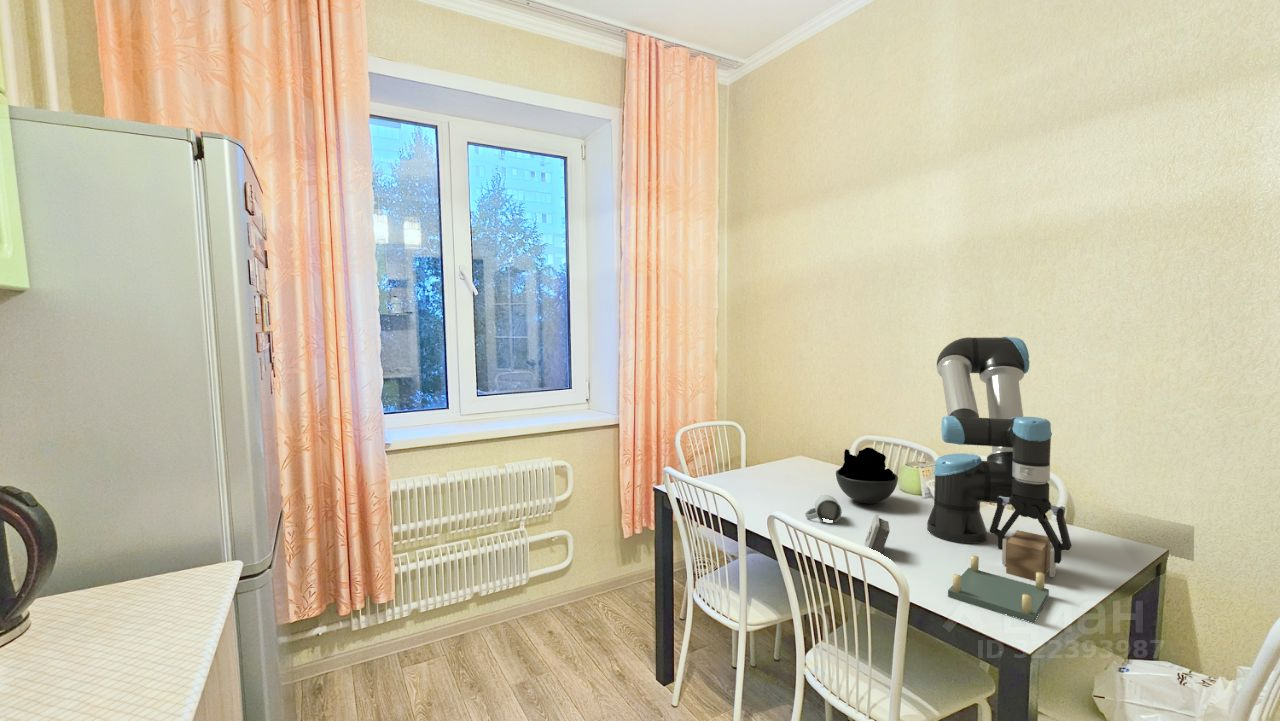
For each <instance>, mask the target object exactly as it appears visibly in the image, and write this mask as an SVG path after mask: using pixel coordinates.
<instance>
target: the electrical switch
mask: <svg viewBox="0 0 1280 721" xmlns="http://www.w3.org/2000/svg"><path fill="white" fill-rule="evenodd" d="M871 520H872V521H871V524H870V526H869V529H868V531H867V535H866V538H865V542H864V547H865V546H866V547H869V548H871V549H873V550H876V551H878V552H880V553H882V554H883V551H884V549H885V545H886V543H887V540H888V537H889V534H890V532H891V531H890V526H889V525H890V523H889V520H885V519H883V518H882V517H881V518H880V517H879V514H877V513H875V514H874V515H873V518H872V519H871Z"/></svg>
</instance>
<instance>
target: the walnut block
mask: <svg viewBox="0 0 1280 721" xmlns="http://www.w3.org/2000/svg"><path fill="white" fill-rule="evenodd" d="M1050 549H1051V542H1050V540H1049V538H1048V536H1047V535H1042V534H1037V533H1032V532H1028V531H1023V530H1018V529H1017V530H1016V531H1015V532H1014V533H1013V534H1012V536H1010V537H1009V540H1008V542H1007V559H1006V565H1005V566H1006V568H1005V569H1006V570H1005V573H1006V574H1008V575H1011V576H1015V577H1018V578H1022V579H1025V580H1030V581H1034V582H1036V572H1041V573H1044V574H1045V576H1046V574H1048V572H1049V571H1050Z"/></svg>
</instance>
